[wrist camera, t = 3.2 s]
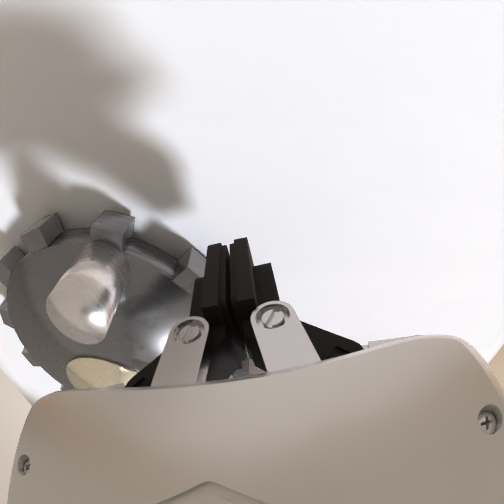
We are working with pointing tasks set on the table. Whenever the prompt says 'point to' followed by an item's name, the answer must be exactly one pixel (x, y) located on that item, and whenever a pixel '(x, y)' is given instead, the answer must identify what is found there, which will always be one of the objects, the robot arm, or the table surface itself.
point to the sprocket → (95, 299)
